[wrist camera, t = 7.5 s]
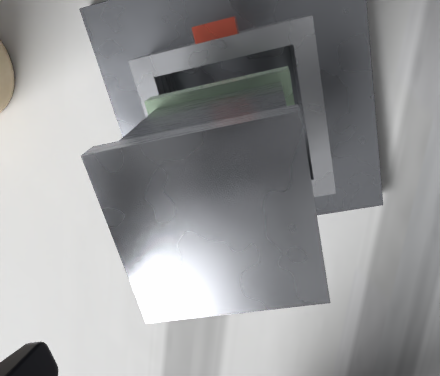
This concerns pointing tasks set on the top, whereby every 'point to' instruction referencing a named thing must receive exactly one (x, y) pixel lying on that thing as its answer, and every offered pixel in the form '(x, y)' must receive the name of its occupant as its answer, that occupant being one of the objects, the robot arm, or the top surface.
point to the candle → (5, 78)
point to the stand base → (253, 63)
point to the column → (214, 201)
